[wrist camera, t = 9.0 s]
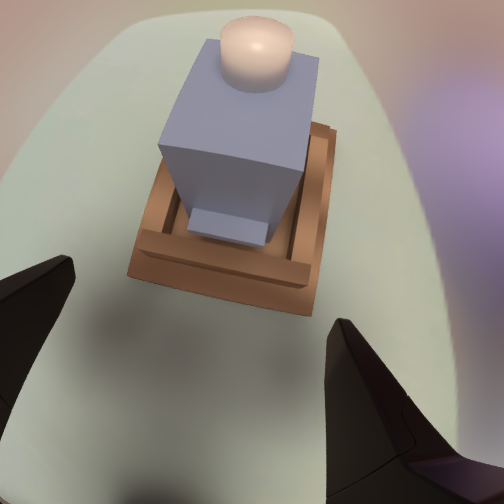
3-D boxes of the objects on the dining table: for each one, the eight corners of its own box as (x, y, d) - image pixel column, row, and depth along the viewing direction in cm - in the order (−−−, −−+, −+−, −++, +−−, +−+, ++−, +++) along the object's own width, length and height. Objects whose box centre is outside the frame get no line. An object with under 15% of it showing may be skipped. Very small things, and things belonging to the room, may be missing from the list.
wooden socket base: (308, 316, 19) (320, 316, 16) (130, 277, 19) (114, 270, 16) (333, 135, 22) (345, 114, 19) (186, 106, 22) (182, 82, 19)
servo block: (266, 261, 19) (313, 177, 7) (188, 244, 19) (128, 143, 7) (288, 148, 21) (330, 11, 9) (219, 134, 21) (213, -8, 9)
